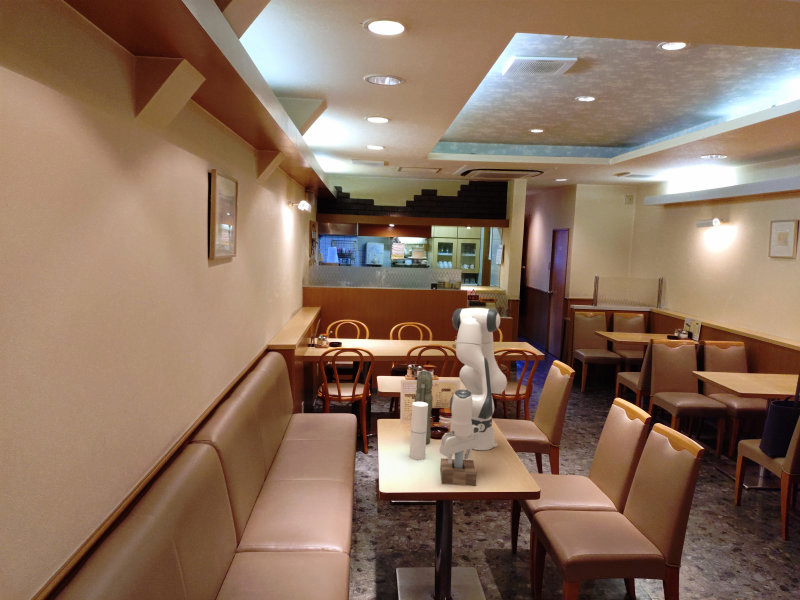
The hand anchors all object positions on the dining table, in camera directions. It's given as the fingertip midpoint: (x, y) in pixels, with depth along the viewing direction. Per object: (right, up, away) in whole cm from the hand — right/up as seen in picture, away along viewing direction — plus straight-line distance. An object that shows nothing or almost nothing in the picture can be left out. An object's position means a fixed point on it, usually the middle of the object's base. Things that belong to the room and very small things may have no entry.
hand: (458, 460), depth 229 cm
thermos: (-14, -2, +39) cm, 41 cm away
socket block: (0, -7, +1) cm, 7 cm away
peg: (0, -7, +1) cm, 7 cm away
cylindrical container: (-17, -4, +20) cm, 27 cm away
